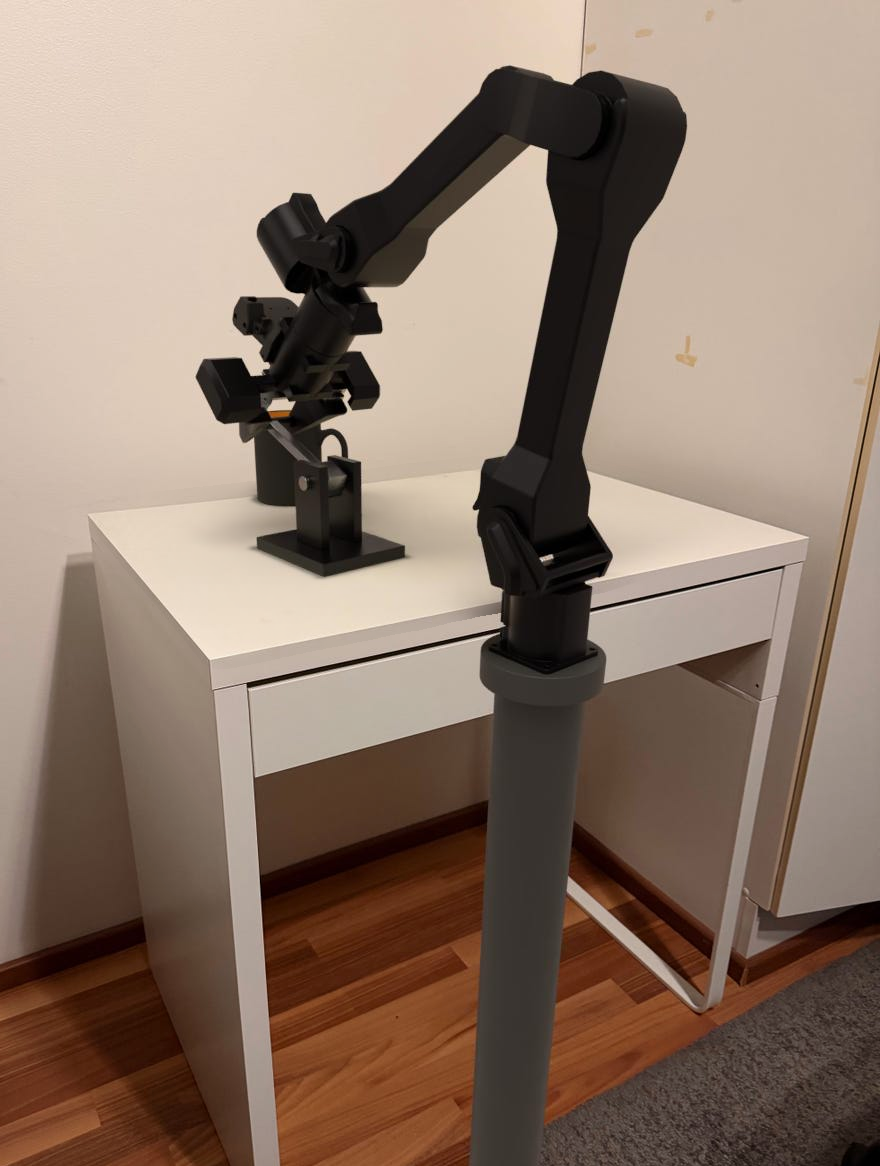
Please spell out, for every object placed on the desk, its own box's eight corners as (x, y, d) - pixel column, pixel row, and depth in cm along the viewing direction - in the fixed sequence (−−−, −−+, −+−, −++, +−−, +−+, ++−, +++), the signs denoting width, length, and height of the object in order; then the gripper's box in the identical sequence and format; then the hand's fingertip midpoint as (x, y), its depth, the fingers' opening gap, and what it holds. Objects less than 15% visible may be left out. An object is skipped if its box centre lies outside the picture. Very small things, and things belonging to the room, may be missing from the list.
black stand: (256, 548, 90) (251, 457, 86) (335, 531, 96) (333, 446, 92) (323, 576, 81) (320, 478, 78) (405, 556, 87) (406, 464, 84)
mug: (337, 510, 105) (335, 422, 101) (246, 503, 108) (241, 417, 104) (359, 495, 112) (358, 413, 108) (273, 488, 115) (269, 408, 111)
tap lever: (245, 433, 91) (248, 412, 89) (285, 428, 94) (289, 408, 92) (312, 501, 84) (317, 479, 83) (353, 493, 87) (358, 473, 86)
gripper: (363, 267, 88) (305, 371, 100) (196, 264, 77) (154, 382, 89) (412, 354, 86) (347, 450, 98) (247, 364, 74) (197, 471, 87)
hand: (264, 436), depth 93 cm, fingers closed on tap lever, 5 cm apart
